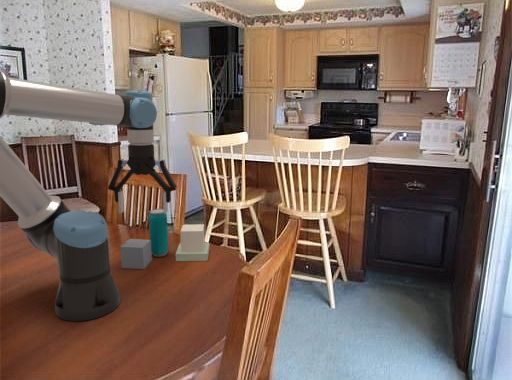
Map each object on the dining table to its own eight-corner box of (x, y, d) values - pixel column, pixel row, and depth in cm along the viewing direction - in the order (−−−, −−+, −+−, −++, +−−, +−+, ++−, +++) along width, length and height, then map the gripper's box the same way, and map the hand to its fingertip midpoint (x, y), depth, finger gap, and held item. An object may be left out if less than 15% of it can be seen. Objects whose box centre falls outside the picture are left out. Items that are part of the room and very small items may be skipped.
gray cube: (144, 269, 128) (142, 247, 126) (121, 268, 129) (120, 246, 127) (151, 260, 135) (150, 239, 133) (130, 259, 135) (129, 238, 134)
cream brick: (203, 251, 135) (202, 231, 134) (181, 252, 135) (180, 231, 133) (204, 244, 142) (204, 224, 140) (183, 244, 142) (183, 224, 140)
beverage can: (169, 250, 143) (167, 208, 139) (167, 257, 137) (165, 213, 133) (152, 251, 142) (149, 208, 139) (149, 257, 137) (146, 213, 133)
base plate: (207, 260, 134) (207, 253, 134) (175, 261, 134) (175, 253, 133) (209, 249, 144) (209, 242, 143) (179, 249, 144) (179, 242, 143)
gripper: (184, 143, 130) (185, 209, 134) (103, 141, 129) (106, 208, 133) (181, 145, 122) (182, 216, 127) (94, 144, 122) (98, 215, 126)
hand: (143, 212), depth 130 cm, fingers open, 13 cm apart
